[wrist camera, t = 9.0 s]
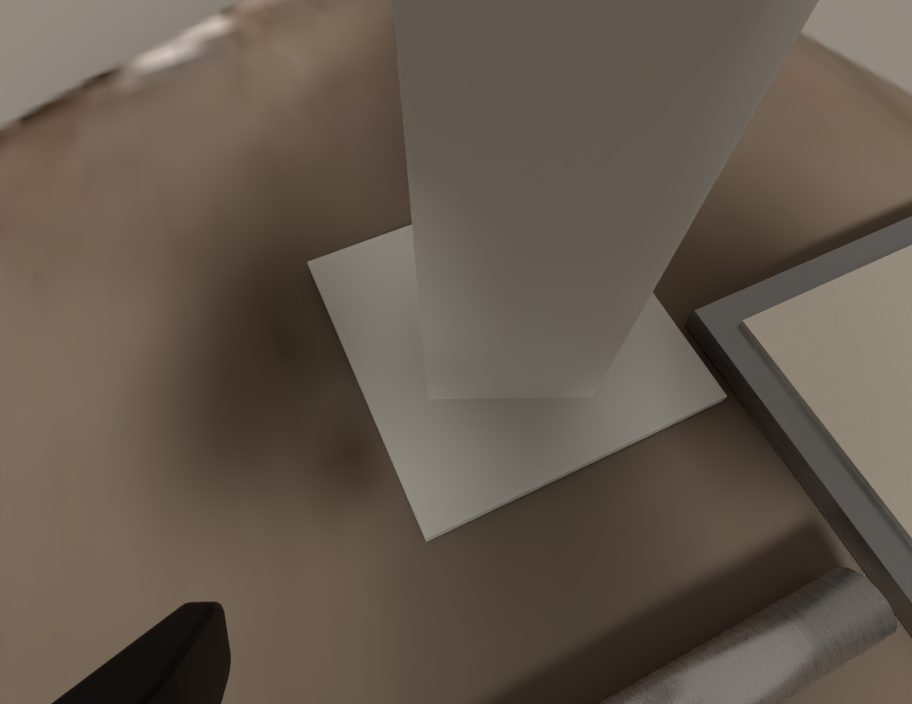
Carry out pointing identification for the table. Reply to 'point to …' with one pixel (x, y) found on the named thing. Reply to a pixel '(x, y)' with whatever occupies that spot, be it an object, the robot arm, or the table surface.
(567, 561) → the table surface
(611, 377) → the case lid
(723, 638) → the rod
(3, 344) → the table surface
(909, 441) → the case base
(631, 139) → the block
